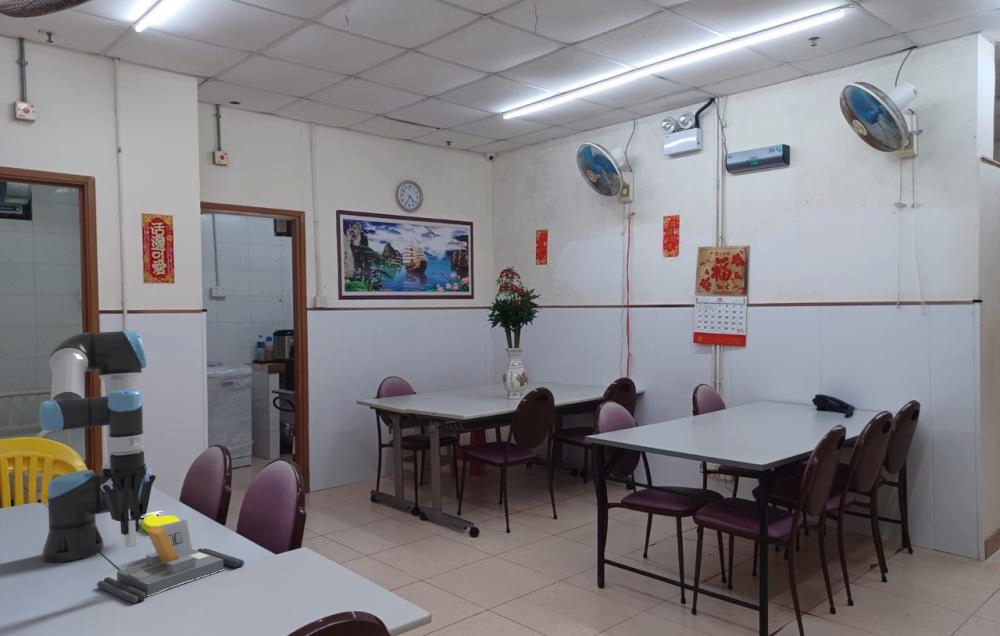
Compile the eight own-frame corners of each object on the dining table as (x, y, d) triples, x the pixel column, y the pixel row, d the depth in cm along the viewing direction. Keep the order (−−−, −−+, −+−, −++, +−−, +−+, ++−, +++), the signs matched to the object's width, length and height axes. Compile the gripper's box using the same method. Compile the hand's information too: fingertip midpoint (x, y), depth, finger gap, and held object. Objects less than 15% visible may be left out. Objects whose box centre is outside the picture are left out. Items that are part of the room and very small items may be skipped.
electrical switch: (160, 561, 192) (157, 528, 193) (151, 559, 196) (149, 526, 196) (192, 552, 200) (190, 519, 200) (184, 550, 203) (181, 518, 203)
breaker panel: (117, 583, 177) (116, 562, 177) (191, 559, 193) (190, 540, 193) (148, 596, 167) (147, 574, 167) (223, 570, 183) (222, 550, 183)
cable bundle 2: (196, 556, 195) (196, 549, 195) (207, 553, 198) (207, 546, 198) (234, 569, 184) (234, 562, 184) (246, 565, 187) (245, 558, 187)
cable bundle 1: (97, 588, 174) (96, 580, 174) (111, 583, 177) (111, 576, 177) (133, 605, 163) (133, 596, 163) (148, 600, 165) (147, 591, 165)
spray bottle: (148, 537, 216) (132, 521, 235) (185, 529, 223) (167, 515, 242) (147, 527, 216) (132, 513, 235) (184, 520, 223) (166, 506, 242)
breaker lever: (161, 563, 182) (145, 530, 178) (168, 558, 183) (152, 525, 180) (174, 568, 178) (158, 534, 174) (181, 563, 179) (165, 529, 176)
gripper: (106, 458, 164) (110, 556, 165) (160, 448, 175) (164, 541, 175) (92, 455, 169) (96, 551, 169) (145, 446, 179) (149, 536, 179)
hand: (130, 545), depth 172 cm, fingers closed
